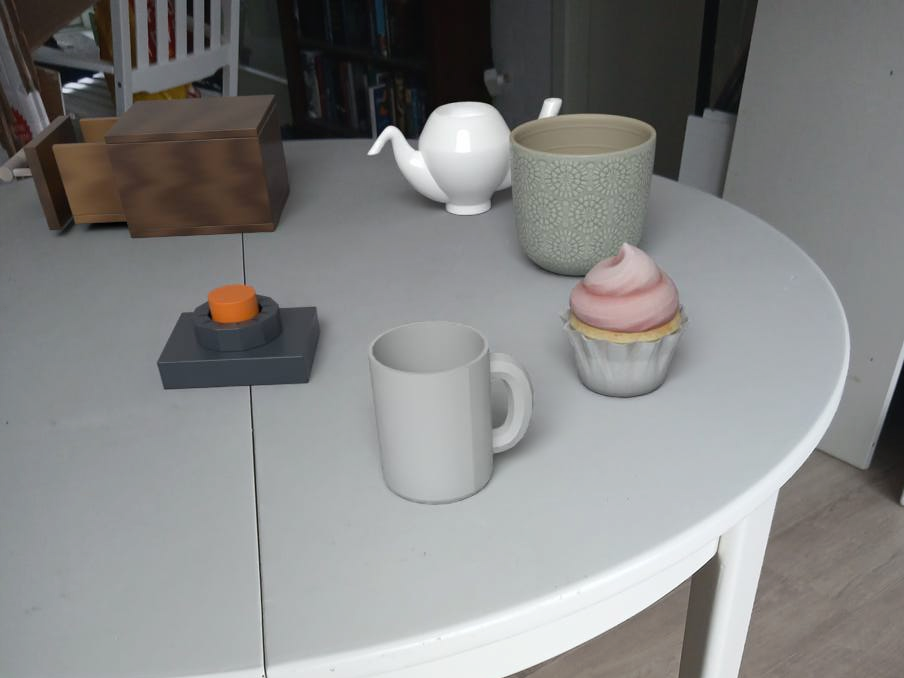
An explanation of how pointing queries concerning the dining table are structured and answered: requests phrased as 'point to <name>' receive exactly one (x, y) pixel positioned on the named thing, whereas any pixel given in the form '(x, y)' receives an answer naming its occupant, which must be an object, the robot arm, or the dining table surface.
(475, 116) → the teapot
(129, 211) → the cabinet
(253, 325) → the control block
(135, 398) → the dining table surface
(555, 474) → the dining table surface
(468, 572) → the dining table surface
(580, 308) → the cupcake
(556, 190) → the planter
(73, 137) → the drawer
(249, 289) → the button
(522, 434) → the cup
